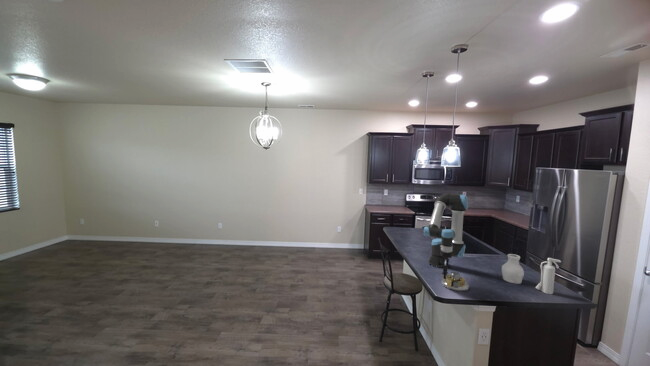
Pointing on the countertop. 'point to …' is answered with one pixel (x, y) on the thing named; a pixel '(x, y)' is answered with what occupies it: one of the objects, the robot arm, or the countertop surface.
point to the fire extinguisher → (547, 276)
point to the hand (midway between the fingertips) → (444, 282)
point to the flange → (456, 283)
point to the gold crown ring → (450, 280)
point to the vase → (513, 270)
